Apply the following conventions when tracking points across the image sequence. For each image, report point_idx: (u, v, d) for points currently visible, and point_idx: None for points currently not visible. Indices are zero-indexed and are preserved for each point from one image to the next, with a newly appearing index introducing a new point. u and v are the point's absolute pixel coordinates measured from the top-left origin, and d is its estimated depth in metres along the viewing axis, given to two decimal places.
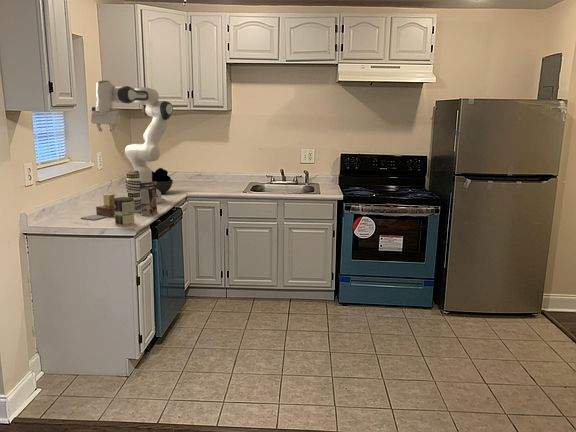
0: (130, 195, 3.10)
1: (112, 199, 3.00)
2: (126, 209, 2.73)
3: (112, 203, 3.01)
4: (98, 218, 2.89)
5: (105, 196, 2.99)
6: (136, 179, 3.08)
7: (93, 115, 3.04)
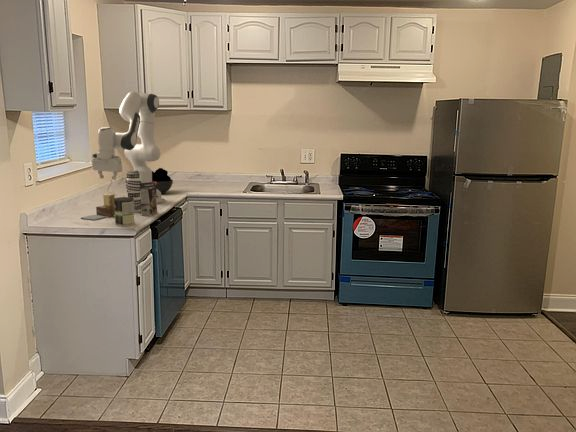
0: (130, 195, 3.10)
1: (112, 199, 3.00)
2: (126, 209, 2.73)
3: (112, 203, 3.01)
4: (98, 218, 2.89)
5: (105, 196, 2.99)
6: (136, 179, 3.08)
7: (94, 162, 2.98)
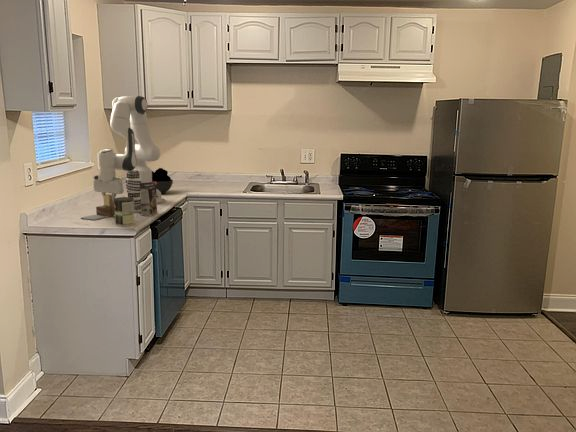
0: (130, 195, 3.10)
1: None
2: (126, 209, 2.73)
3: (112, 203, 3.01)
4: (98, 218, 2.89)
5: (105, 196, 2.99)
6: (136, 179, 3.08)
7: (96, 183, 3.00)
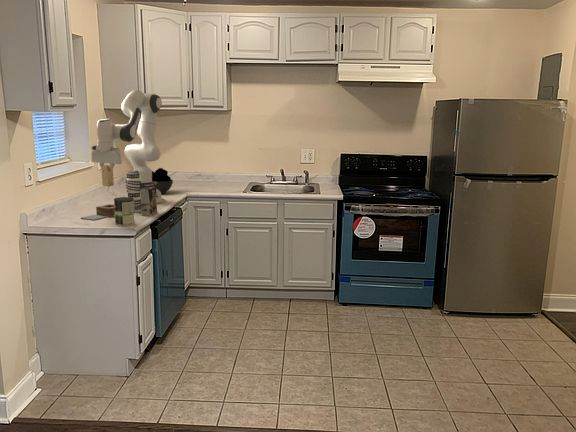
0: (130, 195, 3.10)
1: None
2: (126, 209, 2.73)
3: (110, 174, 2.97)
4: (98, 218, 2.89)
5: (103, 167, 2.95)
6: (136, 179, 3.08)
7: (94, 154, 2.97)
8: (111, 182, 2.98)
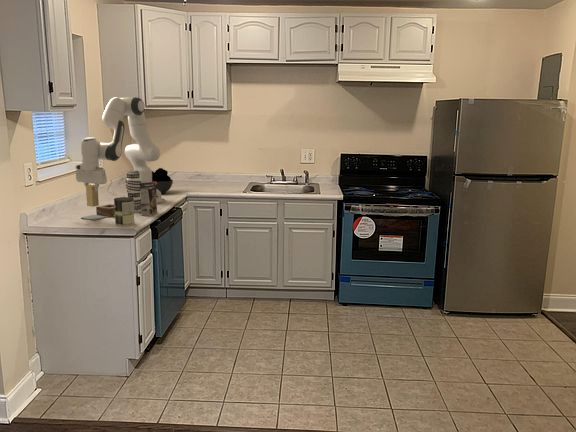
0: (130, 195, 3.10)
1: None
2: (126, 209, 2.73)
3: (95, 194, 2.88)
4: (98, 218, 2.89)
5: (88, 186, 2.87)
6: (136, 179, 3.08)
7: (78, 173, 2.89)
8: (96, 202, 2.90)
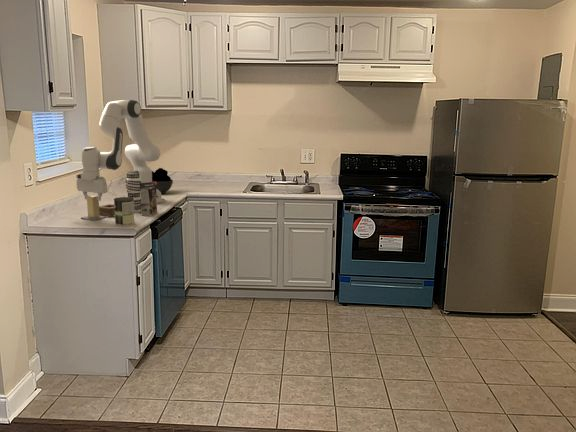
0: (130, 195, 3.10)
1: (96, 201, 2.90)
2: (126, 209, 2.73)
3: (96, 205, 2.90)
4: (98, 218, 2.89)
5: (88, 198, 2.88)
6: (136, 179, 3.08)
7: (79, 182, 2.90)
8: (97, 213, 2.91)
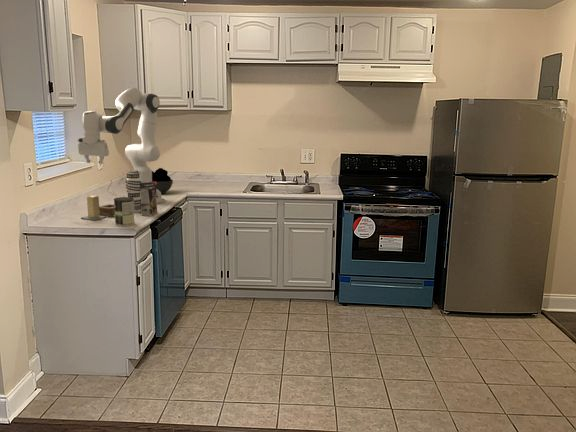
0: (130, 195, 3.10)
1: (96, 201, 2.90)
2: (126, 209, 2.73)
3: (96, 205, 2.90)
4: (98, 218, 2.89)
5: (89, 198, 2.88)
6: (136, 179, 3.08)
7: (80, 146, 2.96)
8: (97, 213, 2.91)
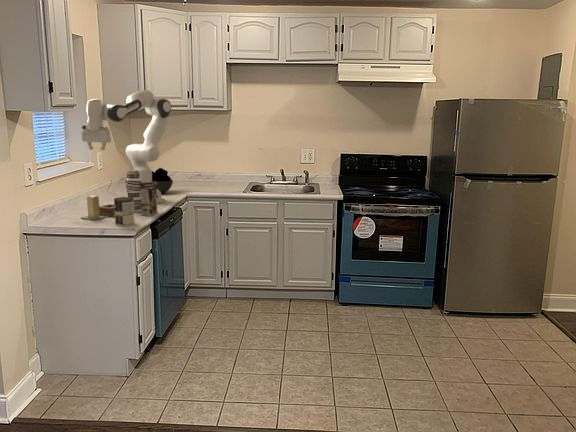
0: (130, 195, 3.10)
1: (96, 201, 2.90)
2: (126, 209, 2.73)
3: (96, 205, 2.90)
4: (98, 218, 2.89)
5: (89, 198, 2.88)
6: (136, 179, 3.08)
7: (84, 133, 3.07)
8: (97, 213, 2.91)
